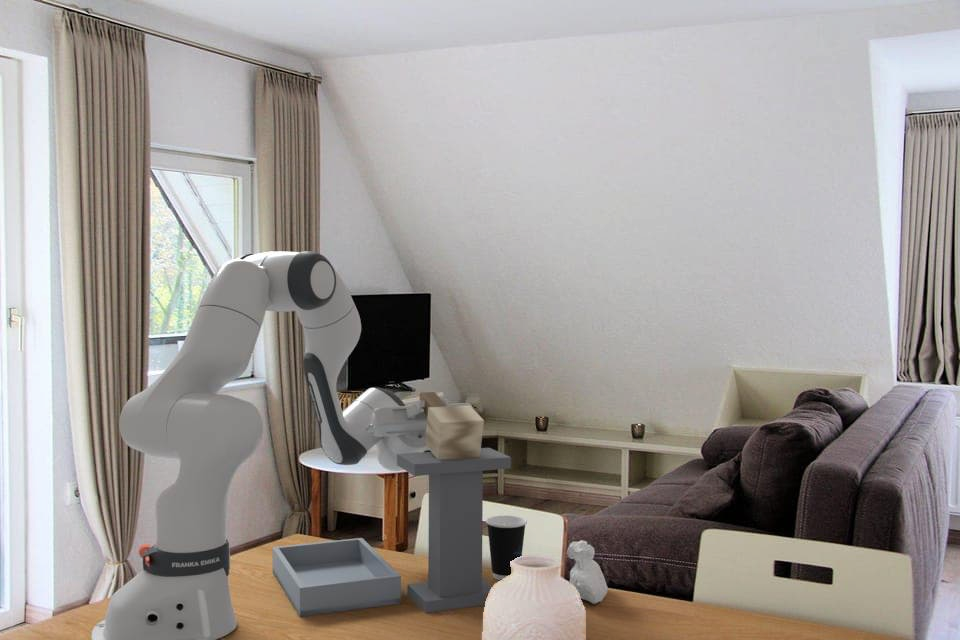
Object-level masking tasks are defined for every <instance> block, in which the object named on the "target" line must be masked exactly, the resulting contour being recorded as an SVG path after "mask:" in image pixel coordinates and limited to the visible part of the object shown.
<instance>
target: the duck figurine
mask: <svg viewBox="0 0 960 640" xmlns="http://www.w3.org/2000/svg"><path fill="white" fill-rule="evenodd" d="M595 552H596V550H595V548H594V547H593V546H592V545H591V544H588V542H587V541H586V540H583V539H582V540H579V541H572V542H570V544H569V545H568V547H567V550H566V555H567V557H568V558H569V559H571V560H574V561H575V564H574V566H573V567H572V568H571V569H570V571H569V584H570V583H572V584H574V586H575V587H576V589H577V590H578V592H579V593H580V596H581V599H580V600H585V601H587V602H590V603H591V604H592V605H596V604H598V603H601V602H603V600H604V598H605V597H606V595H607V593H608V589H609V587H608V585H607V582H606V579H605V576H604V573H603V572H602V570H601V566H600V565H599V564H598V562H596V560H594V557H595Z"/></svg>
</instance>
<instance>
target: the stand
mask: <svg viewBox="0 0 960 640" xmlns="http://www.w3.org/2000/svg"><path fill="white" fill-rule="evenodd" d="M397 465H398V466H399V467H401V468H403V469H404V471H406V472H408V473H409V474H411V475H412V476H414V477H417V476H418V477H419V476H420V477H421V476H428V561H427V562H428V565H427V566H428V567H427V568H428V571H427V573H428V576H427V577H428V578H427V579H428V581H420V582H419V581H418V582H412V583H407V589H406V591H407V593H406V594H407V596H408V597H409V598H410V599H411V600H412V601H413V602H414V603H415V604H416V606H418V607H419V608H420V609H421V610H422V611H423V612H424V614H428V613H435V612H443V611H449V610H455V609H456V610H458V609H464V608H471V607H477V606H478V607H479V606H485V605H484V604H485V601H486V598H487V596H488V593H489V591H490V589H491V587H492V586H493V585H492V584H491V583H489V582H488V581H487V580H485V578H483V508H484V506H483V501H484V500H483V497H484V495H483V494H484V493H483V491H484V490H483V489H484V488H483V487H484V484H483V482H484V480H483V479H484V477H483V475H484V471H495V470H497V471H498V470H506V469H507V470H508V469H512V457H511V456H509V455H507V454H504V453H502V452H500V451H497V450H496V449H493V448H491V447H481V451H480V457H469V458H455V459H442V460H437V458H436V457H435V456H434V454H433V453H432V452H431V451H424V452H420V453H405V454H397Z"/></svg>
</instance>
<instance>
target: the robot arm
mask: <svg viewBox="0 0 960 640" xmlns="http://www.w3.org/2000/svg"><path fill="white" fill-rule="evenodd" d="M267 311H268V312H277V313H287V312H296V315H297V317H298V320H299V322H300V324H301V326H302V330H303V333H304V339H305V351H304V356H303V360H302V370H303V375H304V379H305V383H306V387H307V390H308V394H309V397H310V401H311V404H312V407H313V411H314V415H315V418H316V423H317V426H318V434H319V435H318V436H319V442H320V446H321V449H322V451H323V453H324V454H325V456H326V457H327V458H328V459H329V460H330V461H331V462H333V463H334V464H336V465H340V466H353V465H357V464H359V463H360V462H361V460H362V459H363V458H364V457H365V455H367V453H368V452H369V451H370V450H371V449H372V448H373V447H374V446H375V445H376V458H377V461H378V463H379V464H380V465H381V466H382V468H384V469H386V470H388V471H393V472H399V471H403V470H404V469H403V468H401V467H399V466H398V465H397V454H405V453H420V452H426V451H429V450H430V449H429V448H428V446H427V445H426V444H425V438H426V427H427V417H426V416H425V414H424V413H423V412H425V410H426V409H427V406H426V401H419V400H417V401H416V402H415V403H413V404H411V405H410V404H409V405H406V404H405V403H404V402H403V400H402V399H401V398H400V397H399V396H398V395H396V394H395V393H394V392H392V391H391V390H388V389H386V388H381V387H376V386H375V387H369V388H367V389H366V390H365V391H364V392H362V394H360V395H359V396H358V397H357V398H356V399H354V400H353V402H352V403H350V404H349V405H348V406H347V407H346V408H344V409H342V406H341V402H340V398H339V394H338V391H337V381H338V378H339V375H340V372H341V370H342V368H343V367H344V365H345V363H346V361H347V360H348V358H349V356H351V354H352V353H353V351H354V349H355V347H356V346H357V344H358V342H359V340H360V337H361V333H362V322H361V318H360V314H359V311H358V309H357V307H356V304H355V302H354V300H353V297H352V295H351V293H350V292H349V289H348V287H347V286H346V284H345V283H344V279H342V277H341V276H340V274H339V273H338V271H337V270H336V268H335V267H334V266H333V265H332V264H331V261H329V259H328V258H327V257H326V256H324V255H323V254H321V253H319V252H318V253H317V252H315V251H307V250H304V251H303V250H302V251H282V250H281V251H280V250H276V251H275V250H273V251H266V252H259V253H248V254H244V255H241V256H238V257H236V258H235V259H230V260H228V261H225V262H224V263H222V264H221V265H220V266H219V267H218V269H217V270H216V271H215V273H214V274H213V277H212V278H211V280H210V282H209V283H208V286H207V287H206V289H205V290H204V292H203V295H202V297H201V299H200V302H199V304H198V307H197V310H196V312H195V315H194V317H193V320H192V322H191V324H190V326H189V329H188V332H187V334H186V336H185V338H184V340H183V343H182V346H181V347H180V349H179V351H178V352H177V354H176V356H174V359H173V360H172V362H171V363H170V364H169V365H168V366H167V368H166V369H165V370H164V371H163V372H162V373H161V375H159V377H158V378H157V379H156V380H155V381H154V382H153V383H151V384H150V385H149V386H147V387H146V388H145V389H144V390H142V391H141V392H139V393H136V394H134V395H133V396H132V397H129V399H128V400H127V401H126V402H125V404H124V406H123V408H122V410H121V413H120V416H119V420H118V421H119V423H118V425H119V433H120V436H121V438H122V440H123V442H124V443H125V445H127V446H128V447H129V448H131V449H133V450H136V451H138V452H141V453H144V454H146V455H149V456H152V457H157V458H158V457H159V458H166V459H177V460H179V462H180V463H179V464H180V465H179V470H178V471H179V472H178V475H177V478H176V480H175V482H174V483H172V484H171V485H169V486H167V487H166V488H165V489H163V490H162V491H161V492H160V493H159V495H158V497H157V498H156V501H155V544H153V545H152V546H151V544H148V543H142V544H141V545H140V547H138V555H139V556H140V558H142V570H141V571H140V572H138V574H136V575H135V576H134V577H133V578H131V579H130V580H128V581H127V582H126V583H125V584H124V585H122V586H121V587H120V588H119V589H117V590H116V591H115V592H114V594H113V595H112V596H111V598H110V601H109V603H108V605H107V608H106V609H107V610H106V614H105V619H103V620H102V621H99V622H98V623H96V625H95V626H94V627H93V628H92V630H91V636H90V640H218V639H220V638H223V637H224V636H226V635H229V634H231V633H232V632H233V631H234V630H235V629H236V628H237V626H238V620H237V619H236V614H235V612H234V607H233V603H232V598H231V592H230V585H229V584H230V583H229V575H230V569H231V548H230V542H229V541H228V540H229V539H227V519H228V512H227V511H228V500H229V499H228V498H229V492H230V488H231V485H232V482H233V480H234V478H235V475H236V473H237V471H238V470H239V468H241V466H242V465H243V463H245V462H246V461H247V460H249V459H250V458H251V457H252V456H253V455H254V454H255V453H256V451H257V450H258V448H259V446H260V444H261V442H262V439H263V434H264V422H263V419H262V416H261V413H260V411H259V409H258V408H257V406H256V405H255V404H253V402H252V403H251V402H250V401H248V400H244V399H242V398H239V397H235V396H233V395H229V394H219V393H218V392H219V391H221V390H222V388H223V387H225V386H226V385H227V384H229V383H231V382H233V381H235V380H237V379H238V378H239V377H241V376H242V375H243V374H244V373H245V372H246V371H247V369H248V367H249V363H250V362H251V358H252V356H253V353H254V350H255V346H256V343H257V342H258V338H259V336H260V332H261V329H262V327H263V322H264V319H265V316H266V312H267ZM441 400H442V401H443V402H444V403H445V404H446V405H447V406H466V405H470V406H471V407H472V408H473V405H472V404H471V403H470V402H463V403H462V402H459V403H449V399H446V398H445V399H441ZM473 409H474V408H473ZM404 471H405V470H404Z"/></svg>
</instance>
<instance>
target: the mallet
mask: <svg viewBox="0 0 960 640" xmlns="http://www.w3.org/2000/svg"><path fill="white" fill-rule="evenodd" d="M418 399H419V400H418V401H426V406H427V409H426V410H425V412H423V413H424V414H425V416H426V417H427V427H426V438H425V444H426V445H427V446H428V448H429V450H430V452H432V453H433V454H434V456H435V457H436V458H437V460H442V459H455V458H469V457H480V451H481V448H482V441H483V432H484V431H483V430H484V424H485V423H484V422H485V420H484V419H483V418H482V416H480V414H479V413H478V412H477V411H476V410H475V409H474V408H472V407H473V406H472V407H471V406H470V405H466V406H447V405H446V404H445V403H444V402H443V401H442V400H443V399H441V398H440V396H439V394H437V393H436V391H427V392H425V391H424V392H422V391H421V392H419V398H418Z"/></svg>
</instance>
